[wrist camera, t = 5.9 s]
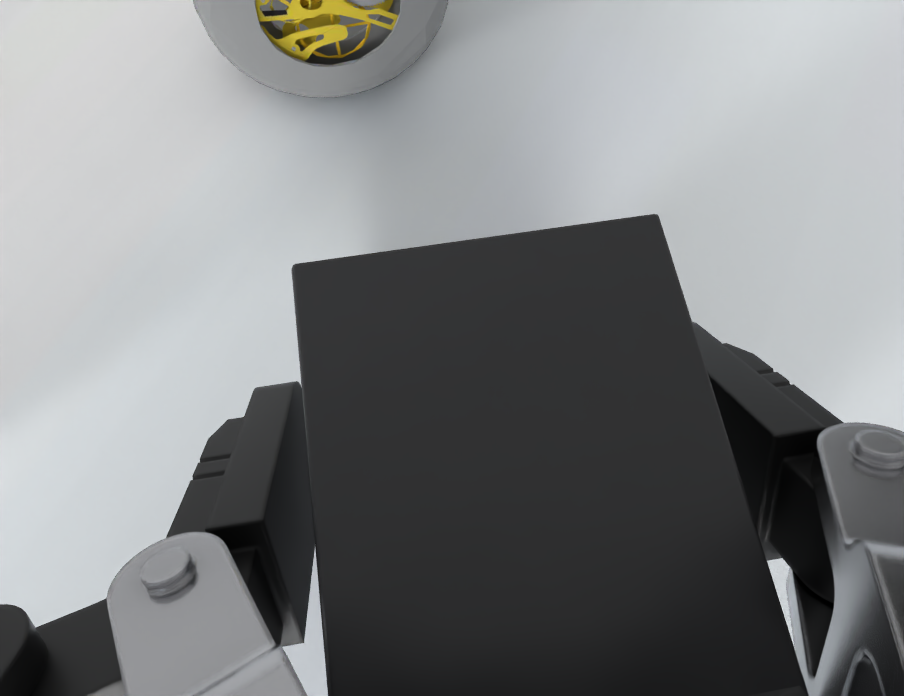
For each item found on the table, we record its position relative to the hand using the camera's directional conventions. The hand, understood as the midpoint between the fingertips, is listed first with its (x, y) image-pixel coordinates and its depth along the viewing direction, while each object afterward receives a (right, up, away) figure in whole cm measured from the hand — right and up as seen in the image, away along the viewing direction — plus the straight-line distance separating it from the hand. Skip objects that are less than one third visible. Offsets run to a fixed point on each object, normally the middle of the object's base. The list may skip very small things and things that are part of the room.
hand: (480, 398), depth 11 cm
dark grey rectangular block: (0, -3, +5) cm, 6 cm away
